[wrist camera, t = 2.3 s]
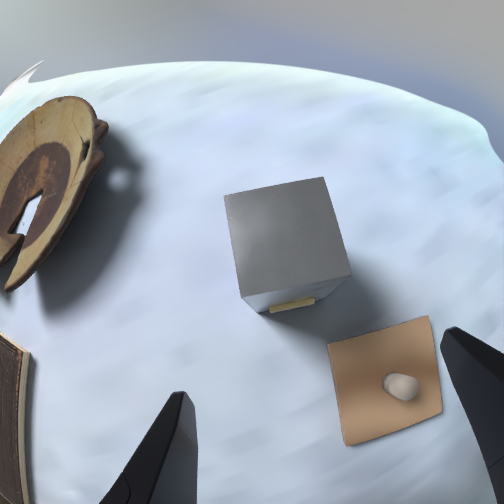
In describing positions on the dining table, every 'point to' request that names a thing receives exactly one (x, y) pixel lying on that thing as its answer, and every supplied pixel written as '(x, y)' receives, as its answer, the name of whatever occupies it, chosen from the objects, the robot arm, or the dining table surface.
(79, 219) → the dining table surface
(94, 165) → the oil lamp
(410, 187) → the dining table surface
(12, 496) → the hardcover book
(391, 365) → the post base
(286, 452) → the dining table surface
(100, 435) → the dining table surface
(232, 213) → the grey cardboard box
